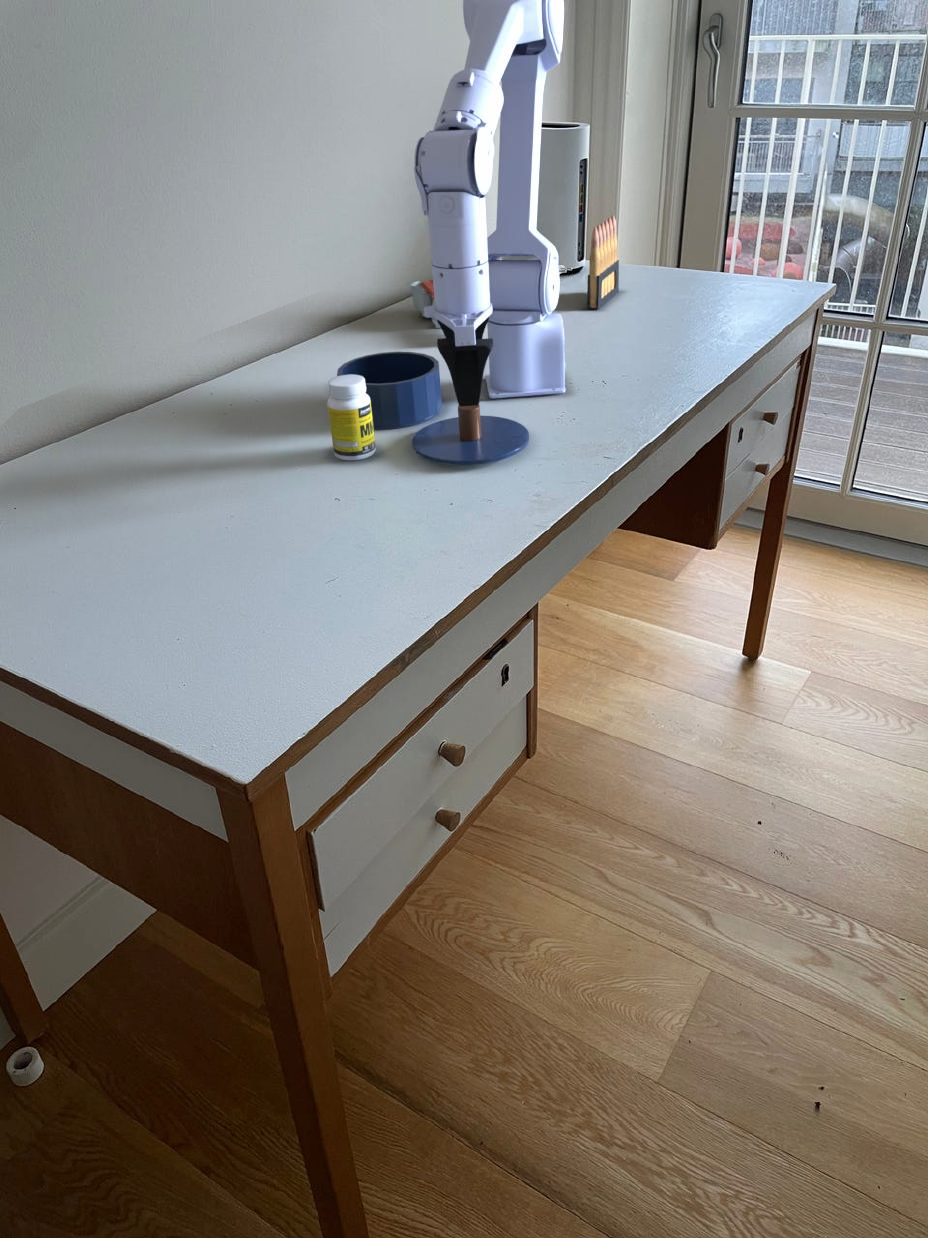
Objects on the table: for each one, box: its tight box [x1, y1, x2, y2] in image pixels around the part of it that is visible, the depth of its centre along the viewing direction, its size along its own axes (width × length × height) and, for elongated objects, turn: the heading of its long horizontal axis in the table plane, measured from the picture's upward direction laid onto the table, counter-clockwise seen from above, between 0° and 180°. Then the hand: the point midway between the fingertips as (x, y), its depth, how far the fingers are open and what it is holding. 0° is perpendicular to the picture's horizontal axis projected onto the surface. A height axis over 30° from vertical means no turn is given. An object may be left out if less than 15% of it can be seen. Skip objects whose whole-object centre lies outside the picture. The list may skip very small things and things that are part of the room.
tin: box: [336, 351, 443, 430], centre depth 119 cm, size 12×12×5 cm
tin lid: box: [411, 404, 530, 466], centre depth 108 cm, size 13×13×5 cm
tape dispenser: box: [410, 279, 441, 329], centre depth 149 cm, size 18×5×20 cm
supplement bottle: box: [326, 375, 377, 461], centre depth 107 cm, size 5×5×8 cm
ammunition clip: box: [586, 214, 620, 311], centre depth 152 cm, size 11×2×12 cm, turn 155°
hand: (468, 392), depth 106 cm, fingers open, 7 cm apart
